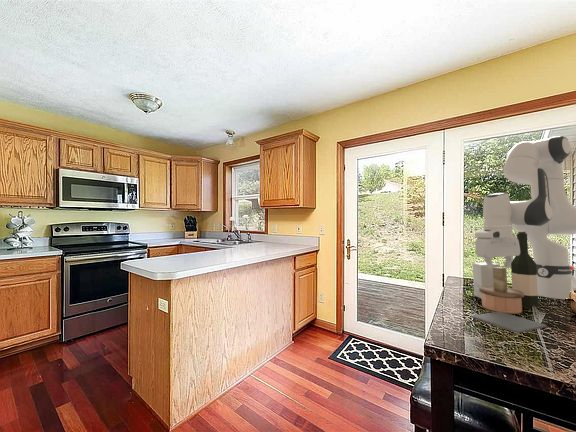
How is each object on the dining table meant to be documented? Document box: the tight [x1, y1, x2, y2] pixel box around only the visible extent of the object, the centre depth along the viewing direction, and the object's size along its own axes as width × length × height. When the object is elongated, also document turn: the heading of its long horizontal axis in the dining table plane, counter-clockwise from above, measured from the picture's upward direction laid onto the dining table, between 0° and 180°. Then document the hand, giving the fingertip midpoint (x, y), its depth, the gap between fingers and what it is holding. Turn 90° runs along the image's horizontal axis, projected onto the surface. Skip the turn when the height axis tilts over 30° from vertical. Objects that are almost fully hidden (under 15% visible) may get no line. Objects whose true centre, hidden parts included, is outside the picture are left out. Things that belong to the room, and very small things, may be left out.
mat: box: [471, 311, 548, 334], centre depth 86 cm, size 14×14×1 cm
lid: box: [479, 266, 524, 298], centre depth 100 cm, size 14×14×10 cm
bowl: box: [481, 293, 523, 315], centre depth 100 cm, size 12×12×6 cm
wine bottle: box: [510, 232, 539, 307], centre depth 106 cm, size 8×8×30 cm
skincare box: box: [472, 261, 501, 300], centre depth 114 cm, size 8×7×16 cm
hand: (499, 268), depth 100 cm, fingers open, 8 cm apart
